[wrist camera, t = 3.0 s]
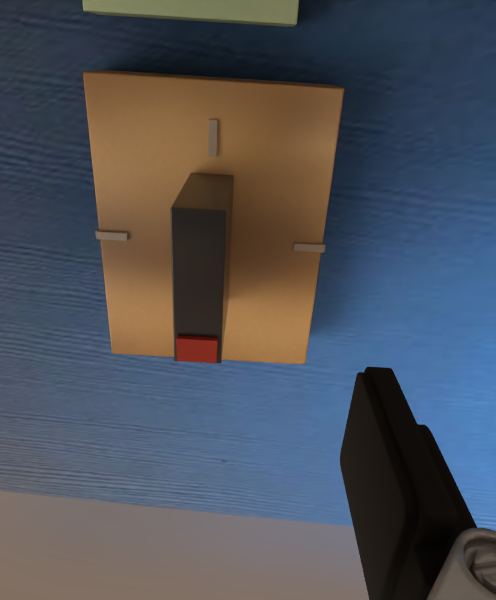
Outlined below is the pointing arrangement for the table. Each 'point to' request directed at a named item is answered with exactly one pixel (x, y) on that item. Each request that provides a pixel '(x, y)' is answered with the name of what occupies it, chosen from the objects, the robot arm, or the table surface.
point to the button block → (203, 10)
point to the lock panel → (245, 210)
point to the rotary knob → (201, 266)
